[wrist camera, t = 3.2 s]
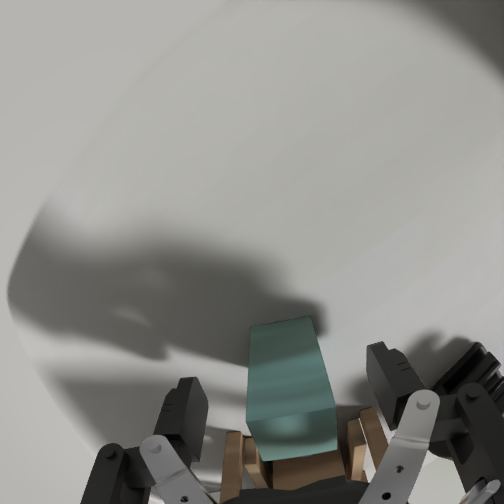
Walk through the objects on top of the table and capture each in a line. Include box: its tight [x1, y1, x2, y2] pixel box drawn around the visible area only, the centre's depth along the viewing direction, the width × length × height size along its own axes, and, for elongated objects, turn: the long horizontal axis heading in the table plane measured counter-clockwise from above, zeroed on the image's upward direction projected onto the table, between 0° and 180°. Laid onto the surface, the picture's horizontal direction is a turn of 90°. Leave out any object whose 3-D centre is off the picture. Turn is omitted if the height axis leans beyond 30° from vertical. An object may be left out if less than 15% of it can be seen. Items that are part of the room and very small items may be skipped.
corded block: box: [246, 316, 347, 490], centre depth 14 cm, size 17×5×6 cm, turn 12°
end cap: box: [428, 342, 504, 461], centre depth 13 cm, size 10×7×7 cm
